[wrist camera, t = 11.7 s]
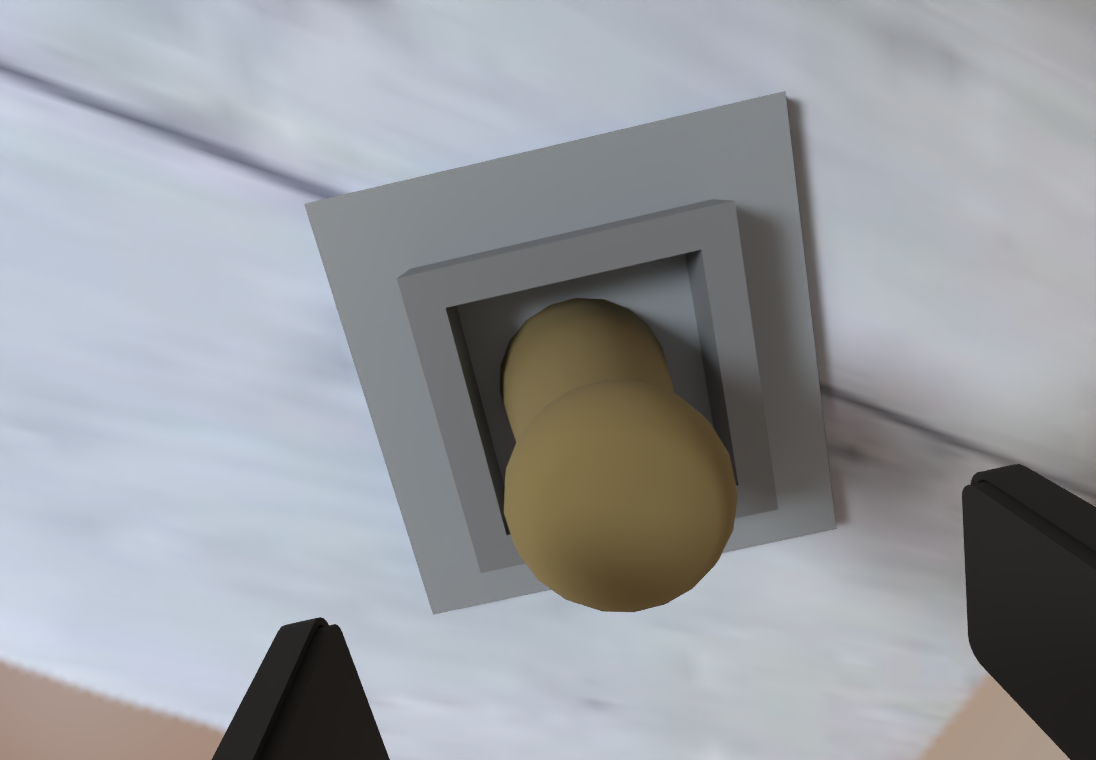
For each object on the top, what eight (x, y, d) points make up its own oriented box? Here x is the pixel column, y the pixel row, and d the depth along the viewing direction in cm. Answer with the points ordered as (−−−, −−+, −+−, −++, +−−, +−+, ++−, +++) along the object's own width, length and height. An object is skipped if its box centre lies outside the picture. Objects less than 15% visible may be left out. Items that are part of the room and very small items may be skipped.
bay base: (311, 203, 23) (277, 206, 20) (776, 94, 23) (817, 79, 19) (435, 602, 28) (423, 657, 24) (827, 518, 27) (867, 563, 24)
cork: (541, 485, 25) (553, 699, 15) (470, 340, 24) (427, 464, 13) (692, 420, 25) (817, 594, 14) (630, 268, 23) (718, 338, 13)
